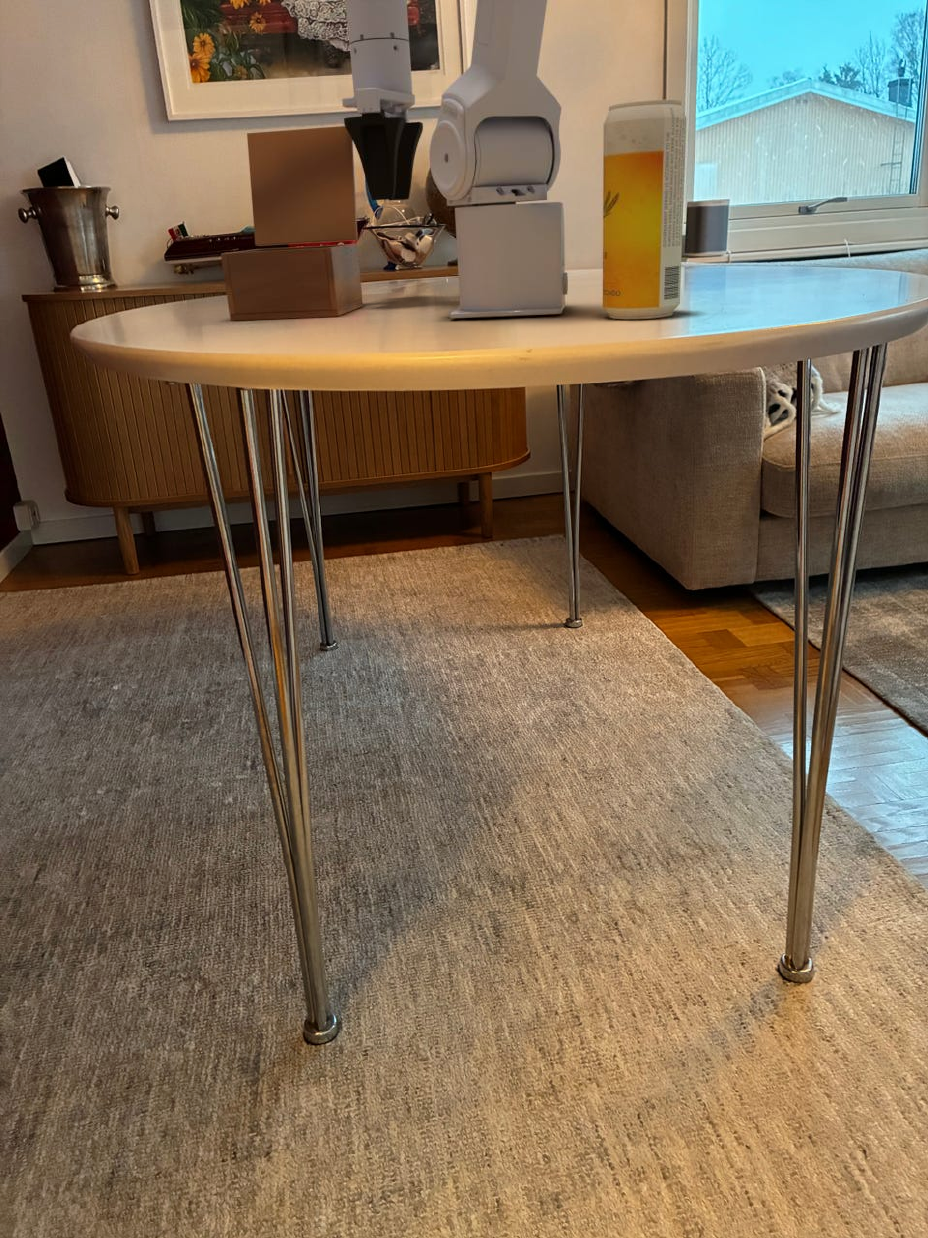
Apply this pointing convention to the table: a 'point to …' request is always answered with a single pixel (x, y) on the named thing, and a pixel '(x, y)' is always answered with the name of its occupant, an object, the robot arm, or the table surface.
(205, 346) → the table surface
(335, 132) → the lid
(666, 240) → the beer can
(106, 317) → the table surface
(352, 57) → the robot arm
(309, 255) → the chest
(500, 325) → the table surface
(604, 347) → the table surface
